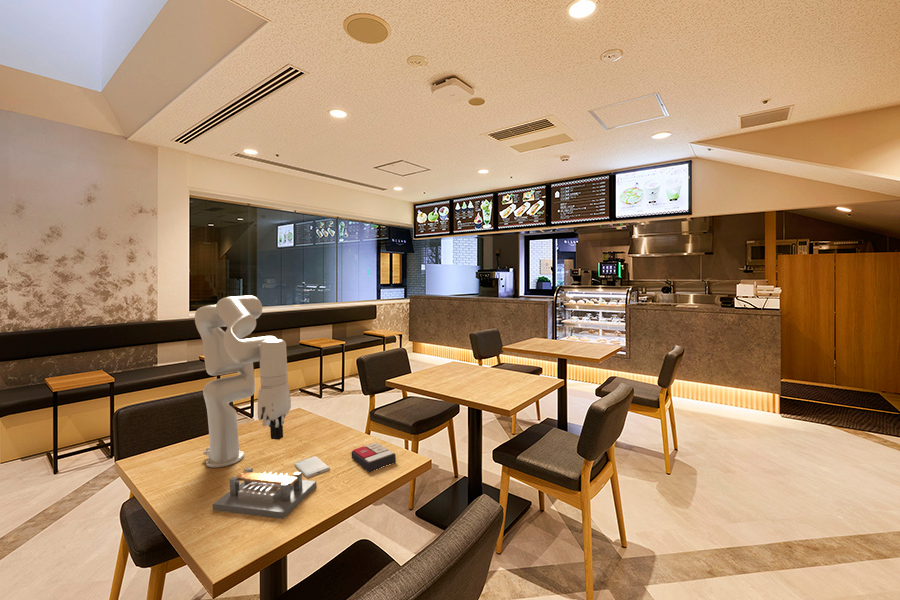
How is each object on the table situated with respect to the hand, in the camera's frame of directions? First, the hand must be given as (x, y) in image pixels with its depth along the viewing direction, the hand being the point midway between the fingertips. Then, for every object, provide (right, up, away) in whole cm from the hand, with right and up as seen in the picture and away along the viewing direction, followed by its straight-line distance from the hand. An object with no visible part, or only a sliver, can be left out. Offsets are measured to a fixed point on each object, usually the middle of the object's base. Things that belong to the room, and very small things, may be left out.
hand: (277, 438), depth 118 cm
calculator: (+25, -18, +25) cm, 40 cm away
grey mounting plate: (-4, -20, +2) cm, 20 cm away
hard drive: (+3, -19, +21) cm, 28 cm away
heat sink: (-4, -18, +2) cm, 18 cm away
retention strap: (-4, -14, +2) cm, 15 cm away
